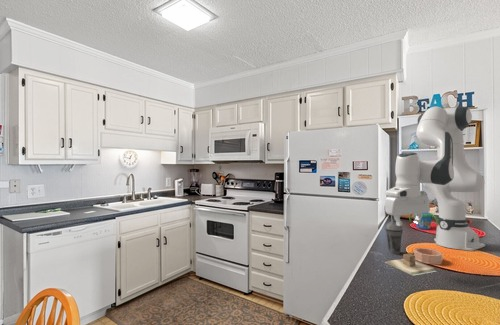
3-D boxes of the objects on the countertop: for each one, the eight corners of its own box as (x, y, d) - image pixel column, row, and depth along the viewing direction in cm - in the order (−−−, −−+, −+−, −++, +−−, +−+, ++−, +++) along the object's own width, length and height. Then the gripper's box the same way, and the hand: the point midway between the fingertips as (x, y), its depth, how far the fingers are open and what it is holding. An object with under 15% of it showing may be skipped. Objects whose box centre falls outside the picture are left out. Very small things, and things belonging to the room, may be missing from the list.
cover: (407, 259, 114) (407, 248, 114) (434, 270, 102) (434, 258, 102) (386, 263, 110) (386, 251, 110) (411, 274, 99) (410, 262, 99)
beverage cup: (405, 256, 119) (405, 213, 119) (388, 255, 120) (387, 213, 120) (399, 251, 126) (399, 210, 126) (383, 250, 127) (383, 210, 127)
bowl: (425, 255, 119) (425, 247, 120) (447, 263, 110) (447, 254, 110) (409, 258, 117) (409, 249, 117) (430, 266, 107) (430, 257, 107)
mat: (406, 259, 115) (405, 259, 115) (436, 272, 101) (436, 271, 101) (384, 263, 111) (384, 262, 111) (413, 276, 98) (413, 275, 98)
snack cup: (440, 229, 166) (440, 213, 166) (433, 232, 159) (433, 215, 160) (413, 225, 178) (413, 210, 178) (406, 227, 172) (406, 212, 172)
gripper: (420, 190, 113) (420, 221, 113) (382, 191, 107) (382, 224, 107) (433, 191, 107) (434, 224, 106) (394, 193, 101) (395, 228, 101)
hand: (408, 224), depth 107 cm, fingers open, 8 cm apart
